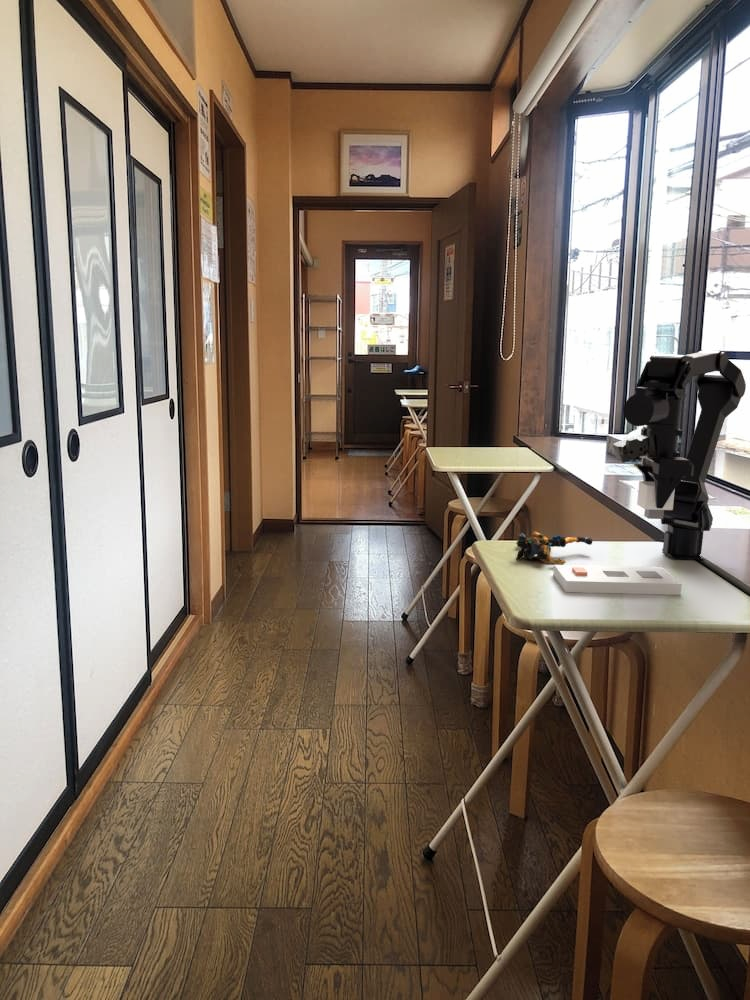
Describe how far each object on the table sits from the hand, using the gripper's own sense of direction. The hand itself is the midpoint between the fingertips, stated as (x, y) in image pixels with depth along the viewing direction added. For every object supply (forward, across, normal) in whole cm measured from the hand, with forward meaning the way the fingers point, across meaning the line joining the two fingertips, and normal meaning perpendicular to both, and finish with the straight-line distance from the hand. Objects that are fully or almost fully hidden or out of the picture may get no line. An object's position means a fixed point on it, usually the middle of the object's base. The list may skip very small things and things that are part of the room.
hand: (654, 505), depth 154 cm
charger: (+2, 0, 0) cm, 2 cm away
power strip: (+13, +10, -10) cm, 19 cm away
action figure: (+13, -6, -17) cm, 23 cm away
